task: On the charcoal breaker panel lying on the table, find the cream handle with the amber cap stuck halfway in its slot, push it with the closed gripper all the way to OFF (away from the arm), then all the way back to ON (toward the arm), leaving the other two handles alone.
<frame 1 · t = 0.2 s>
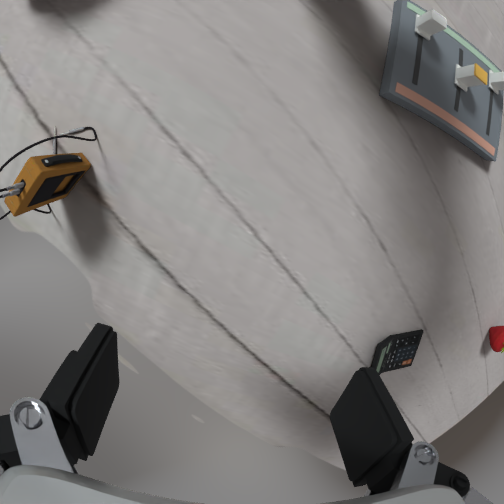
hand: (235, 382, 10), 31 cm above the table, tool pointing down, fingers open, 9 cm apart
breaker panel: (448, 80, 33), on the table
calculator: (392, 350, 50), on the table
breaker handle 1: (430, 23, 24), point 6 cm above the table, slide at 0.0 cm
strawberry: (490, 328, 52), on the table
tripped breaker handle: (471, 75, 27), point 6 cm above the table, slide at 5.0 cm
breaker handle 2: (502, 81, 27), point 6 cm above the table, slide at 0.0 cm
multimeter: (62, 159, 35), on the table
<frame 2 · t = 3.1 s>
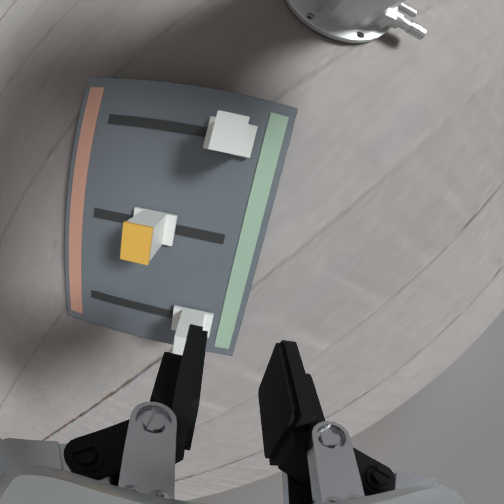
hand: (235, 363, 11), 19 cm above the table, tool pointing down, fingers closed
breaker panel: (163, 217, 28), on the table
breaker handle 1: (229, 135, 20), point 6 cm above the table, slide at 0.0 cm
tripped breaker handle: (145, 234, 22), point 6 cm above the table, slide at 5.0 cm
breaker handle 2: (188, 334, 26), point 6 cm above the table, slide at 0.0 cm
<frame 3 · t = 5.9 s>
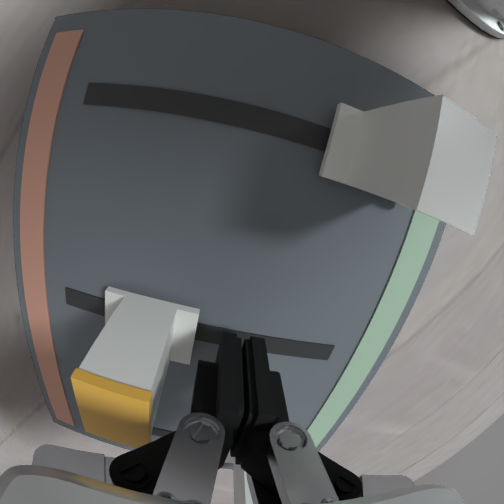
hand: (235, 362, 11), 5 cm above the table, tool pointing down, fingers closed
breaker panel: (202, 298, 15), on the table
breaker handle 1: (410, 160, 7), point 6 cm above the table, slide at 0.0 cm
tripped breaker handle: (133, 365, 9), point 6 cm above the table, slide at 7.0 cm, touching gripper
breaker handle 2: (256, 481, 13), point 6 cm above the table, slide at 0.0 cm
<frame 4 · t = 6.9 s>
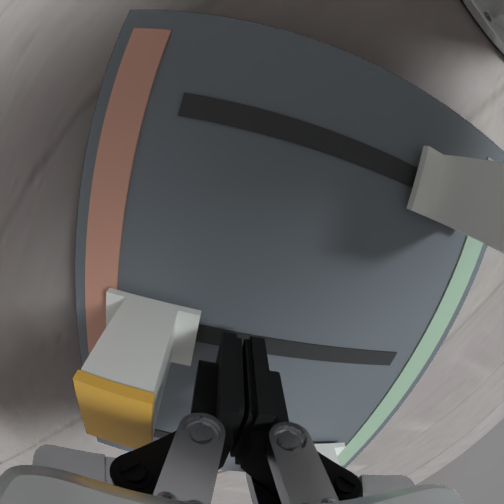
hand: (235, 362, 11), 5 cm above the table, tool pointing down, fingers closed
breaker panel: (275, 314, 16), on the table
breaker handle 1: (483, 203, 8), point 6 cm above the table, slide at 0.0 cm
tripped breaker handle: (134, 366, 9), point 6 cm above the table, slide at 11.0 cm, touching gripper
breaker handle 2: (317, 481, 13), point 6 cm above the table, slide at 0.0 cm
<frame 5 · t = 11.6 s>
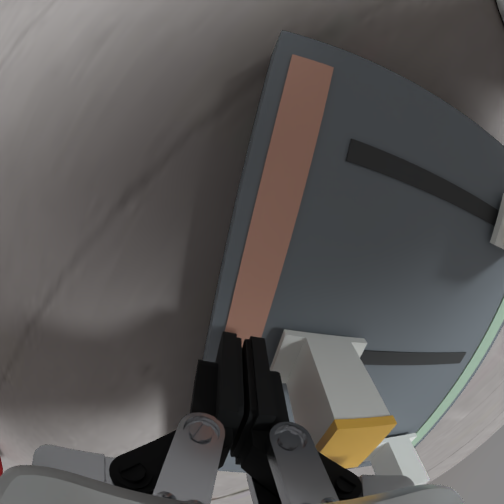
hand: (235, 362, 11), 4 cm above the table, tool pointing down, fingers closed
breaker panel: (375, 328, 16), on the table
tripped breaker handle: (331, 399, 10), point 6 cm above the table, slide at 10.0 cm, touching gripper
breaker handle 2: (398, 468, 14), point 6 cm above the table, slide at 0.0 cm
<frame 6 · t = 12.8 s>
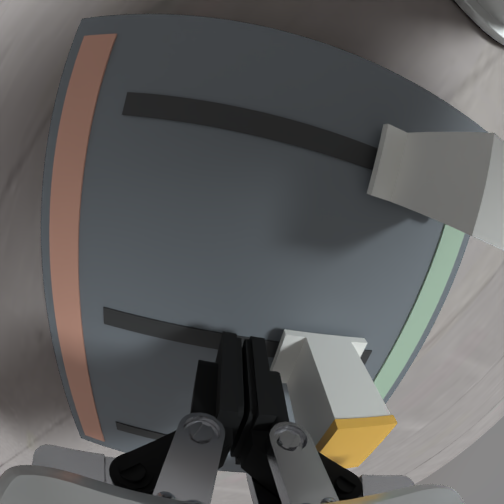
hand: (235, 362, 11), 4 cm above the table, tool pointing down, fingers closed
breaker panel: (241, 310, 15), on the table
breaker handle 1: (453, 183, 7), point 6 cm above the table, slide at 0.0 cm
tripped breaker handle: (331, 398, 10), point 6 cm above the table, slide at 1.6 cm, touching gripper
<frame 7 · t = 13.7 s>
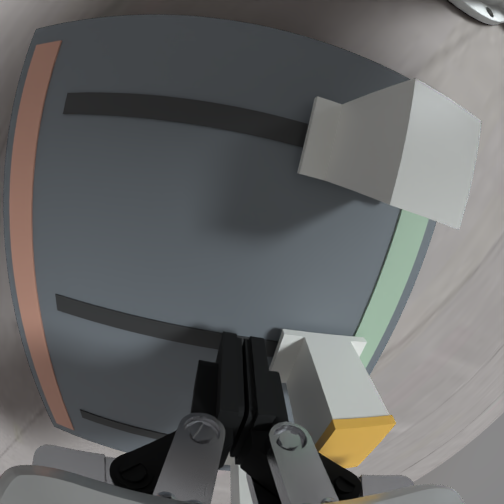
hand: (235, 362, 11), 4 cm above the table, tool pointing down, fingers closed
breaker panel: (191, 301, 15), on the table
breaker handle 1: (390, 152, 7), point 6 cm above the table, slide at 0.0 cm
tripped breaker handle: (330, 398, 10), point 6 cm above the table, slide at -1.1 cm, touching gripper
breaker handle 2: (252, 483, 13), point 6 cm above the table, slide at 0.0 cm
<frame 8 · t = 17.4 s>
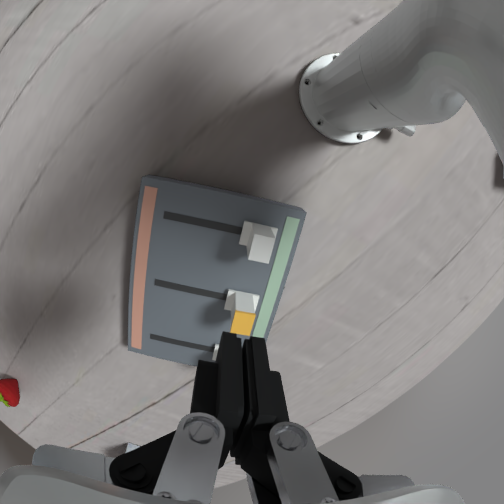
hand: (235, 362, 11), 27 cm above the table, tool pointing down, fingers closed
breaker panel: (205, 282, 39), on the table
breaker handle 1: (259, 241, 32), point 6 cm above the table, slide at 0.0 cm
strawberry: (16, 379, 46), on the table
tripped breaker handle: (242, 312, 34), point 6 cm above the table, slide at -0.1 cm
breaker handle 2: (227, 364, 37), point 6 cm above the table, slide at 0.0 cm
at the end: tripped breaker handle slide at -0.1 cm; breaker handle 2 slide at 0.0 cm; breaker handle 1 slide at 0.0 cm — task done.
